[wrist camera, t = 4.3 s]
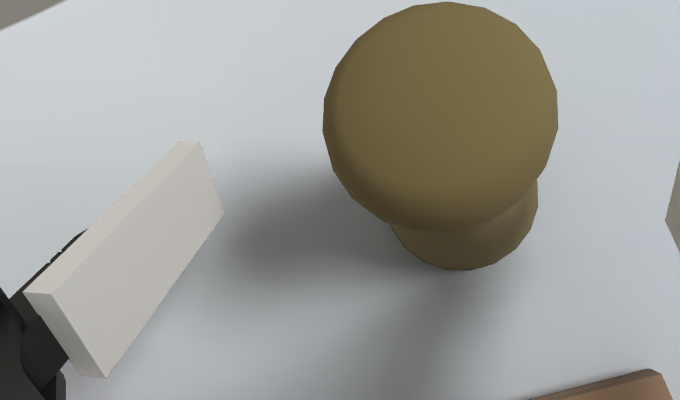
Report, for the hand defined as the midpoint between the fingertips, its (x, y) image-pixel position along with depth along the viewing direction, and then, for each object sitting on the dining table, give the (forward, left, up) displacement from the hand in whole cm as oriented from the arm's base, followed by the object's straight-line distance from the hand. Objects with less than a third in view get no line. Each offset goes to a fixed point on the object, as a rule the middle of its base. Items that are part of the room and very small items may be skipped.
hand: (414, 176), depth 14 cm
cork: (-1, 0, -7) cm, 7 cm away
